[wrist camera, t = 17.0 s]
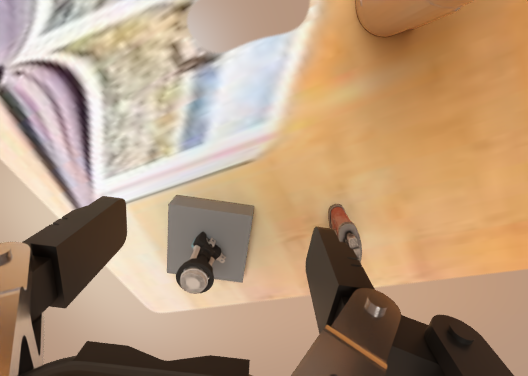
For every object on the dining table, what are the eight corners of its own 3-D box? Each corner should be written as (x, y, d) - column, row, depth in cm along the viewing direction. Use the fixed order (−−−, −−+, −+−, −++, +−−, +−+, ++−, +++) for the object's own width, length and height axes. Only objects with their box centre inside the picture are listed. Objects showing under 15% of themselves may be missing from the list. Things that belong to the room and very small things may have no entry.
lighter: (325, 206, 47) (340, 235, 38) (344, 201, 47) (363, 229, 37) (332, 243, 50) (348, 278, 40) (350, 239, 49) (370, 274, 40)
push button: (235, 248, 46) (227, 289, 36) (214, 265, 47) (202, 309, 38) (206, 224, 44) (190, 260, 35) (186, 243, 45) (165, 283, 36)
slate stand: (253, 206, 47) (252, 216, 43) (244, 268, 52) (242, 282, 48) (176, 194, 46) (168, 204, 43) (174, 259, 51) (166, 272, 48)
